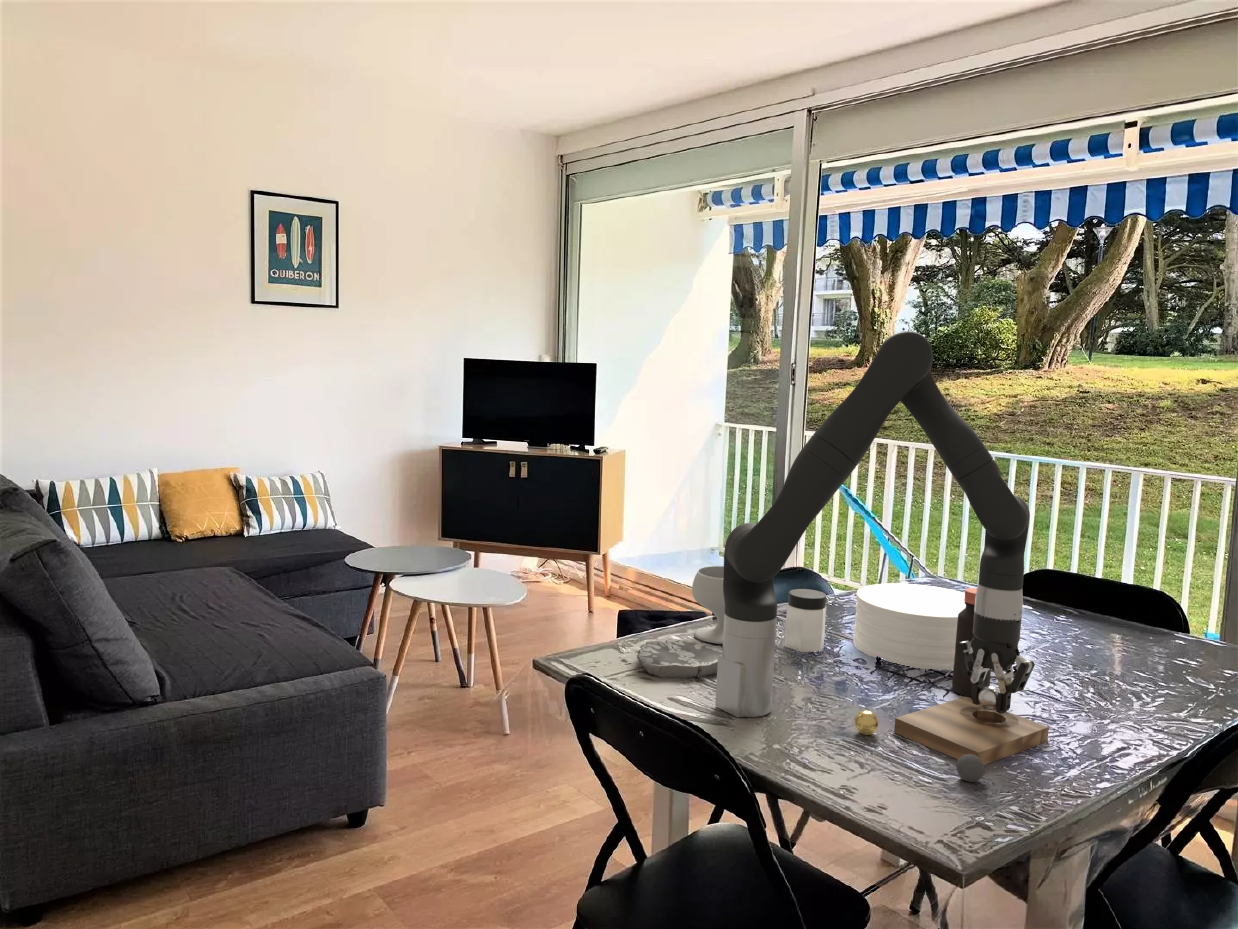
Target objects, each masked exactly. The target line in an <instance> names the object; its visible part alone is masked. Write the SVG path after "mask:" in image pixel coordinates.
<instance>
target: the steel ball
mask: <svg viewBox="0 0 1238 929" xmlns="http://www.w3.org/2000/svg"><path fill="white" fill-rule="evenodd" d="M998 692H1000V691H999V688H998V687H996V686H992V685H990V686H986V687H984V688H982V689H981V690H980V692H979V694H978V699H979V702H980V704H981V705H982V706H983V707H984V708H986V709H989V710H995V709H997V697H998Z"/></svg>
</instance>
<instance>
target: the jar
mask: <svg viewBox="0 0 1238 929" xmlns="http://www.w3.org/2000/svg"><path fill="white" fill-rule="evenodd" d="M826 614H827V595H826V593H824V592H822V591H819V590H815V589H809V588H808V589H807V588H796V589H791V590H789V592H788V596H787V605H786V614H785V615H786V616H785V618H786V619H785V632H784V633H785V635H784V647H785V646H786V647H785V648H787V647H789V648H788V649H790V648H791V650H793V651H796V650H798V651H797V652H799V651H800V653H820V652H821V651H822V649H823V648H824V645H825V644H824V643H825V630H826ZM814 651H816V652H814ZM818 651H819V652H818Z"/></svg>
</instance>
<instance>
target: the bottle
mask: <svg viewBox="0 0 1238 929" xmlns="http://www.w3.org/2000/svg"><path fill="white" fill-rule="evenodd" d="M977 588H978V587H977ZM977 588H975V587H970V588H965V590H964V593H965V599H964V601H965V602H964V603H965V604H966V608H965V609H963V610H962V611H961V612H960V613H959V614H958V621H957V633H956V644H957V643H959V642H963V641H969V642H971V641H972V639H973V637H974V635H973V622H974V609H975V598H976V592H977ZM972 654H973V659H974V663H975V660H976V656H975V654H974V651H973V652H972ZM991 675H992V670H991V669H989V670H988V672H987V674H986V677H985V680H984V681H983V682H984V683H985V687H986V686H991V678H992V677H991ZM951 682H952V683H951V684H952V686H951V689H952V690H953V692H954V693H955V694H958V695H960V696H963V697H969V698H971V687H972V682H971V680H970V679H969V678H968V677H967V676H966V677H964V676H963V675H962V671H961V667H960V662H959V657H958V652H957V647H956V645H955V657H954V669H953V670H952V681H951Z"/></svg>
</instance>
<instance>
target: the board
mask: <svg viewBox="0 0 1238 929" xmlns="http://www.w3.org/2000/svg"><path fill="white" fill-rule="evenodd" d="M893 730H894V731H893V732H894V733H896V734H898V735H901V736H903V737H905V738H907V739H910V740H912V741H913V742H917V743H919V744H921V745H922V746H923V745H924V746H926V747H928V748H930V749H933V750H935V751H938V752H940V753H942V754H944V755H947V756H948V757H951V758H953V759H956V760H957V761H958V760H959V758H960V757H962V756H963V755H966V754H972V755H975V756H977V757H978V758H979V759H980V760H981V761H982V762H983V764H984V766H986V765H988V764H990V763H993V762H997V761H1000V760H1002V759H1005V758H1006V757H1010V756H1012V755H1014V754H1017V753H1019V752H1023V751H1026V750H1028V749H1030V748H1033V747H1036V746H1039V745H1041V744H1043V743H1047V742H1048V740H1049V730H1050V726H1047V725H1045V724H1042V723H1039V722H1036V721H1034V720H1031V719H1028V718H1026V717H1022V716H1020V715H1018V714H1015V713H1012V712H1010V711H1007V712H1006V713H1003V714H1000V713H997V712H996V709H995V710H989V709H986V708H984V707H983V706H982V705H981V704H979V705H976V704H973V700H971V697H966V696H963V697H960V698H957V699H953V700H949V701H947V702H943V703H940V704H937V705H934V706H930V707H927V708H924V709H921V710H916V711H913V712H911V713H907V714H904V715H900V716H897V717H895V718H894V729H893Z"/></svg>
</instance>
